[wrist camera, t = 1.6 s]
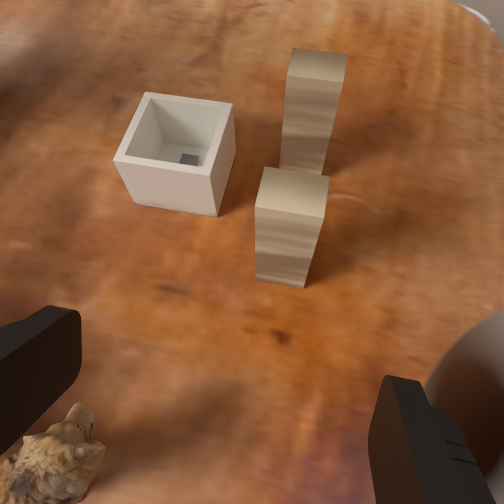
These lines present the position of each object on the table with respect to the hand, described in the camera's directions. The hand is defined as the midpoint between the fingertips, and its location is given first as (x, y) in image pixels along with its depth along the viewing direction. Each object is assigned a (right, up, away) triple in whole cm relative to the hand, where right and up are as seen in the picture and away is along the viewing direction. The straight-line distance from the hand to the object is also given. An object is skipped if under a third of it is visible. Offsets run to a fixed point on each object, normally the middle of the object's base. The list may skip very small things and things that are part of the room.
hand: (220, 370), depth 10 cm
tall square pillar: (+3, +2, +22) cm, 23 cm away
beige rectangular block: (+6, +12, +27) cm, 30 cm away
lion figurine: (-14, -12, +16) cm, 24 cm away
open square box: (-5, +10, +27) cm, 29 cm away
